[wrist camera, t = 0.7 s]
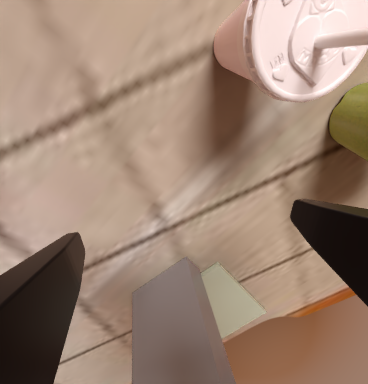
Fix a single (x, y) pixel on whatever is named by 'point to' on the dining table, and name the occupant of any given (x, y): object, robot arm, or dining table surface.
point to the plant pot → (352, 121)
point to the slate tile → (177, 331)
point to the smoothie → (294, 45)
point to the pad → (229, 300)
